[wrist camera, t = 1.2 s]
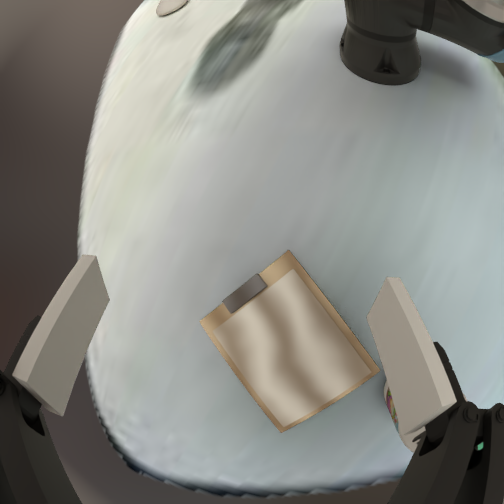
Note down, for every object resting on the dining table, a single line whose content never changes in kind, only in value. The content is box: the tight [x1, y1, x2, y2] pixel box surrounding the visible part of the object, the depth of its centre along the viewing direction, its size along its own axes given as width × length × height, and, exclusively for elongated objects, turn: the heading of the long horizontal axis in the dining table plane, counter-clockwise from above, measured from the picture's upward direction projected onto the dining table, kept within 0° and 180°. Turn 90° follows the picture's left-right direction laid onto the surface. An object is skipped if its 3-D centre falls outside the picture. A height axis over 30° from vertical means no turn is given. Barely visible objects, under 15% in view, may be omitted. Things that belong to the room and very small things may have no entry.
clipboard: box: [199, 250, 380, 433], centre depth 34 cm, size 16×20×2 cm
